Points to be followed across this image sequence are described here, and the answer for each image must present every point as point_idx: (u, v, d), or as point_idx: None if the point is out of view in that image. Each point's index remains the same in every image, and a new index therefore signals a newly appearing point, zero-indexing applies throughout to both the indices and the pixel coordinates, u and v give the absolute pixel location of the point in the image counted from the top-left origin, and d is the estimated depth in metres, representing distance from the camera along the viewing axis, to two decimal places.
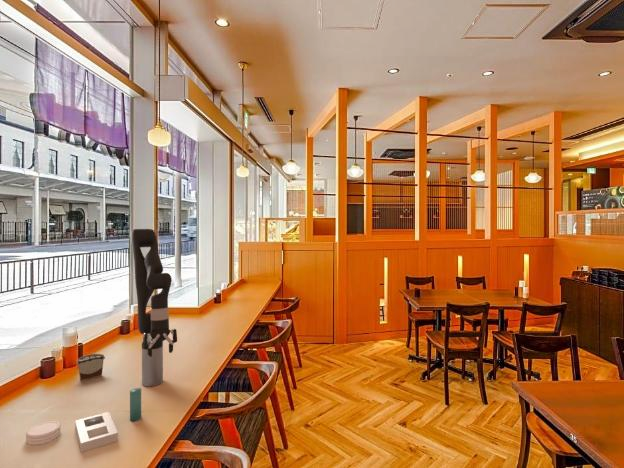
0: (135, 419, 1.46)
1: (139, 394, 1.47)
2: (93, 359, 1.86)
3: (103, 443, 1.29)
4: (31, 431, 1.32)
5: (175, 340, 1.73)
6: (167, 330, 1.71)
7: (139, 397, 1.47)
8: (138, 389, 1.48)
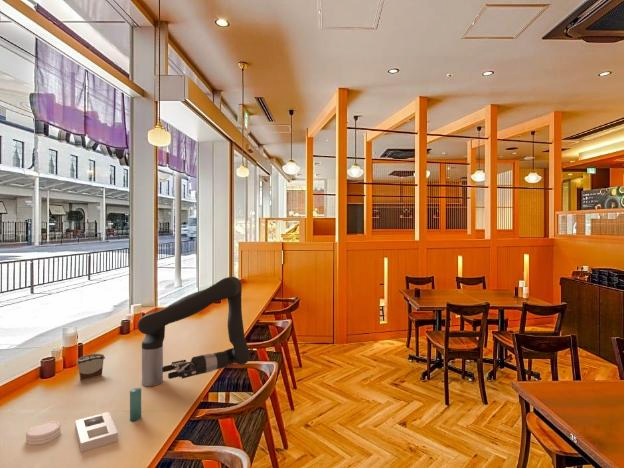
0: (135, 419, 1.46)
1: (139, 394, 1.47)
2: (93, 359, 1.86)
3: (103, 443, 1.29)
4: (31, 431, 1.32)
5: None
6: None
7: (139, 397, 1.47)
8: (138, 389, 1.48)
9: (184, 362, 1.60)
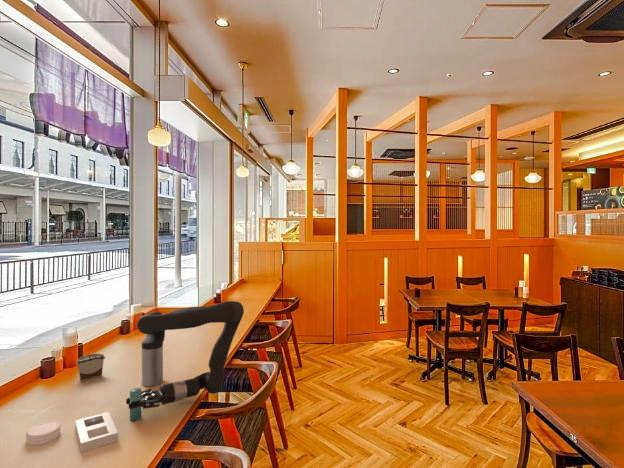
0: (135, 419, 1.46)
1: (139, 394, 1.47)
2: (93, 359, 1.86)
3: (103, 443, 1.29)
4: (31, 431, 1.32)
5: None
6: None
7: (139, 397, 1.47)
8: (138, 389, 1.48)
9: (152, 391, 1.52)
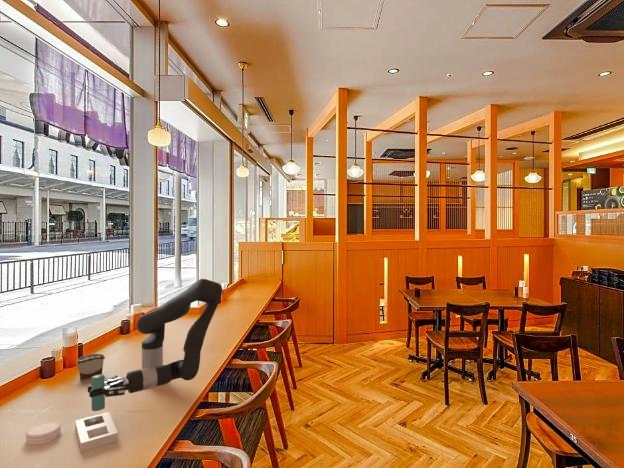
0: (97, 409, 1.30)
1: (102, 381, 1.31)
2: (93, 359, 1.86)
3: (103, 443, 1.29)
4: (31, 431, 1.32)
5: None
6: None
7: (102, 384, 1.31)
8: (101, 375, 1.33)
9: (117, 378, 1.37)
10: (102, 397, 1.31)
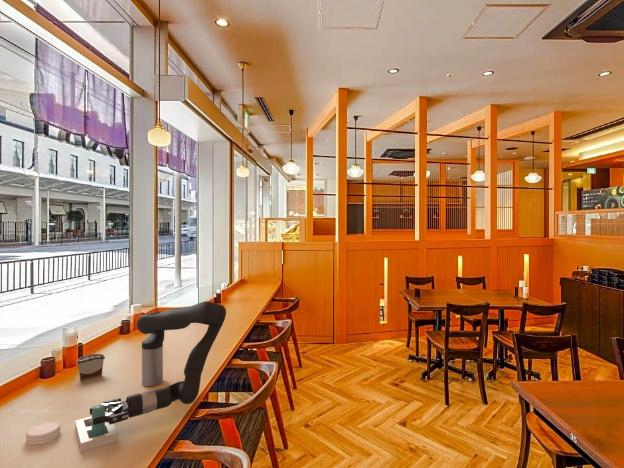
0: None
1: (102, 412, 1.32)
2: (93, 359, 1.86)
3: (103, 443, 1.29)
4: (31, 431, 1.32)
5: None
6: None
7: None
8: (102, 406, 1.33)
9: (117, 402, 1.37)
10: (102, 428, 1.32)
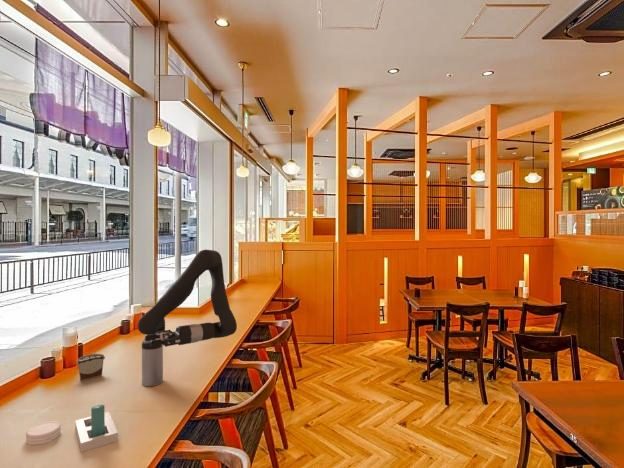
0: None
1: (101, 412, 1.32)
2: (93, 359, 1.86)
3: (103, 443, 1.29)
4: (31, 431, 1.32)
5: (157, 337, 1.56)
6: None
7: (102, 415, 1.32)
8: (101, 406, 1.33)
9: (168, 331, 1.54)
10: (102, 428, 1.32)
